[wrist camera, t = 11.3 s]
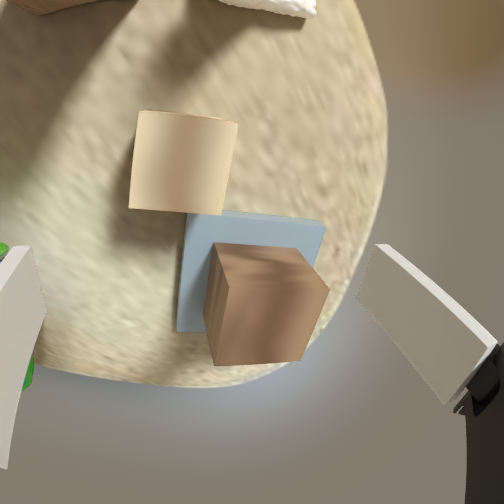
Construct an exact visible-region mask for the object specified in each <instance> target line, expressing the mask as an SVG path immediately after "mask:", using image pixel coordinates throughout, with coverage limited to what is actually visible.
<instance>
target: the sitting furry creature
mask: <svg viewBox="0 0 504 504" xmlns="http://www.w3.org/2000/svg"><path fill="white" fill-rule="evenodd" d="M219 1H220V2H223V3H226V4H227V5H235V6H238V7H245V8H247V9H248V8H250V9H253V8H254V9H257V10H258V9H263V10H265V11H270V12H274V13H275V14H282V15H286V14H287V15H290V16H292V17H296V16H298V17H301V18H307V19H313V18H314V17H315V15H316V10H315V9H314V8H315V7H316V2H315V0H219Z"/></svg>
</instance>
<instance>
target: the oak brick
mask: <svg viewBox="0 0 504 504" xmlns="http://www.w3.org/2000/svg"><path fill="white" fill-rule="evenodd" d="M238 126H239V124H237V123H234V122H231V121H227V120H224V119H221V118H215V117H209V116H202V115H194V114H186V113H178V112H168V111H158V110H144V111H140V112H139V116H138V123H137V129H136V137H135V144H134V153H133V162H132V172H131V183H130V195H129V208H134V209H147V210H161V211H173V212H185V213H197V214H208V215H219V216H221V213H222V208H223V202H224V197H225V192H226V186H227V181H228V176H229V171H230V165H231V160H232V155H233V150H234V145H235V140H236V136H237V131H238Z"/></svg>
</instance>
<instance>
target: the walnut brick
mask: <svg viewBox="0 0 504 504" xmlns="http://www.w3.org/2000/svg"><path fill="white" fill-rule="evenodd" d="M329 290H330V289H329V288H328V286H327V285H326V284H325V283H324V281H323V280H322V279H321V278H320V276H319V275H318V274H317V273H316V272H315V270H314V269H313V268H312V267H311V265H310V264H309V263H308V262H307V260H306V259H305V258H304V257H303V256H302V254H301V253H300V252H299V251H298V249H297V248H286V247H273V246H259V245H246V244H232V243H219V242H214V245H213V251H212V257H211V263H210V270H209V276H208V283H207V289H206V296H205V303H204V309H203V317H204V322H205V327H206V332H207V336H208V341H209V345H210V350H211V354H212V359H213V363H214V366H232V365H252V364H267V363H280V362H292V361H300V360H301V358H302V356H303V353H304V351H305V349H306V347H307V344H308V342H309V340H310V337H311V335H312V332H313V330H314V328H315V325H316V323H317V320H318V318H319V316H320V313H321V311H322V308H323V306H324V303H325V300H326V298H327V295H328V293H329Z"/></svg>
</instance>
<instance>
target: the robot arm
mask: <svg viewBox="0 0 504 504" xmlns="http://www.w3.org/2000/svg"><path fill="white" fill-rule="evenodd" d="M356 298H357V299H358V301H359V302H360V303H361V304H362V305H363V306H364V307H365V309H366V310H367V311H368V312H369V313H370V314H371V316H372V317H373V318H374V319H375V320H376V322H377V323H378V324H379V325H380V326H381V327H382V329H383V330H384V331H385V332H386V333H387V334H388V336H389V337H390V338H391V339H392V341H393V342H394V343H395V344H396V345H397V347H398V348H399V349H400V350H401V352H402V353H403V354H404V355H405V356H406V358H407V359H408V360H409V361H410V363H411V364H412V365H413V366H414V368H415V369H416V370H417V371H418V372H419V374H420V375H421V376H422V378H423V379H424V380H425V381H426V383H427V384H428V385H429V387H430V388H431V389H432V390H433V392H434V393H435V394H436V395H437V397H438V398H439V399H440V401H441V402H442V403H443V405H446V404H448V403H449V402H451V401H453V400H455V399H456V398H457V397H458V396H459V395H460V393H461V392H462V391H463V390H464V388H465V387H467V389H468V390H469V391H468V392H467V393H466V394H465V395H464V397H463V398H462V399H461V400H460V401H459V403H458V404H457V405H456V406H455V407H454V411H453V413H456V412H457V411H458V410H459V409H460V408H461V406H464V407H463V408H462V409H461V410H460V411H459V414H461V415H465V416H466V436H467V476H466V493H465V504H504V343H503V344H502V345H501V346H499V345H498V344H497V340H496V339H495V338H494V337H493V336H492V335H491V334H490V333H489V332H488V331H486V329H485V328H483V327H482V326H481V325H480V324H479V323H478V322H477V321H476V320H475V319H474V318H473V317H472V316H471V315H470V314H469V313H468V312H466V310H464V309H463V308H462V307H461V306H460V305H459V304H458V303H457V302H456V301H454V300H453V299H452V298H451V297H450V296H449V295H448V294H446V292H444V291H443V290H442V289H441V288H440V287H439V286H438V285H436V284H435V283H434V282H433V281H432V280H431V279H429V278H428V277H427V276H426V275H425V274H424V273H422V272H421V271H420V270H419V269H418V268H416V267H415V266H414V265H413V264H412V263H410V262H409V261H408V260H407V259H405V258H404V257H403V256H402V255H400V254H399V253H398V252H397V251H395V250H394V249H393V248H392V247H390V246H389V245H388V244H375V245H374V248H373V251H372V254H371V257H370V260H369V263H368V266H367V269H366V272H365V275H364V278H363V281H362V283H361V286H360V289H359V292H358V294H357V297H356ZM46 312H47V308H46V304H45V301H44V297H43V294H42V290H41V286H40V282H39V278H38V274H37V270H36V266H35V261H34V256H33V252H32V247H31V245H24V246H13V248H12V249H11V250H10V251H9V253H8V254H7V255H6V257H5V258H4V259H3V260H2V262H1V263H0V468H3V469H7V466H8V458H9V451H10V444H11V437H12V431H13V426H14V421H15V416H16V411H17V407H18V403H19V398H20V394H21V390H22V386H23V382H24V379H25V375H26V372H27V368H28V365H29V362H30V358H31V355H32V352H33V349H34V346H35V343H36V340H37V337H38V334H39V331H40V328H41V326H42V323H43V320H44V318H45V315H46Z"/></svg>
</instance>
